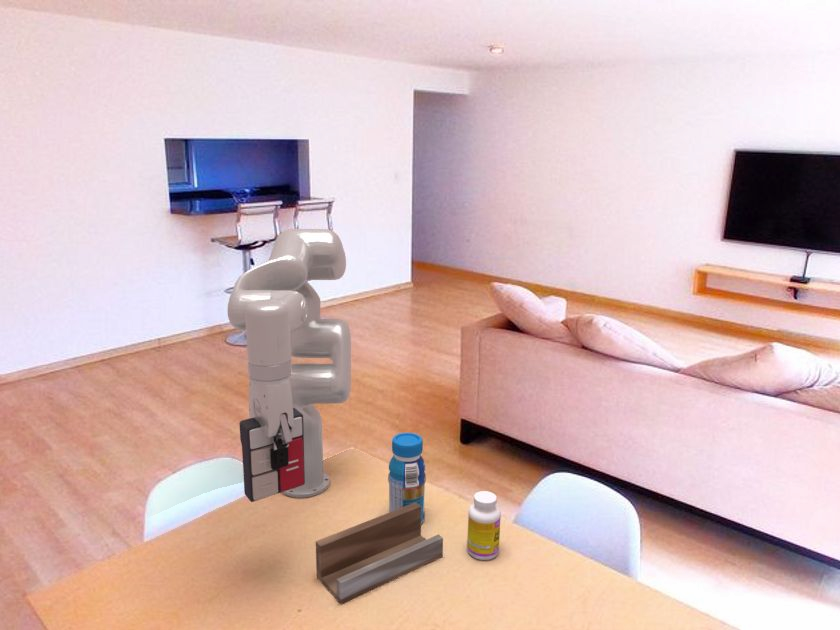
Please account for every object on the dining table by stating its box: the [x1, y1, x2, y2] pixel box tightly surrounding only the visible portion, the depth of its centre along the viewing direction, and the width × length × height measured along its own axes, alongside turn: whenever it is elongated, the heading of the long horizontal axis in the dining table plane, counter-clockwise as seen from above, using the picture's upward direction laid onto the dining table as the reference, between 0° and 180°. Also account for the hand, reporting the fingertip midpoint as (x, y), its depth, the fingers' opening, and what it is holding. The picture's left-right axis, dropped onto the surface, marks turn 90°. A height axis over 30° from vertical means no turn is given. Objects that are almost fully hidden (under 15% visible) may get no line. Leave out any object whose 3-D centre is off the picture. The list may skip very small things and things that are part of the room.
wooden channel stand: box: [315, 502, 444, 605], centre depth 126 cm, size 10×24×8 cm, turn 127°
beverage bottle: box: [387, 432, 427, 524], centre depth 141 cm, size 8×8×20 cm
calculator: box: [239, 408, 305, 503], centre depth 117 cm, size 11×4×15 cm, turn 127°
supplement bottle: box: [466, 490, 502, 561], centre depth 131 cm, size 7×7×13 cm
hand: (274, 461), depth 117 cm, fingers closed on calculator, 3 cm apart
